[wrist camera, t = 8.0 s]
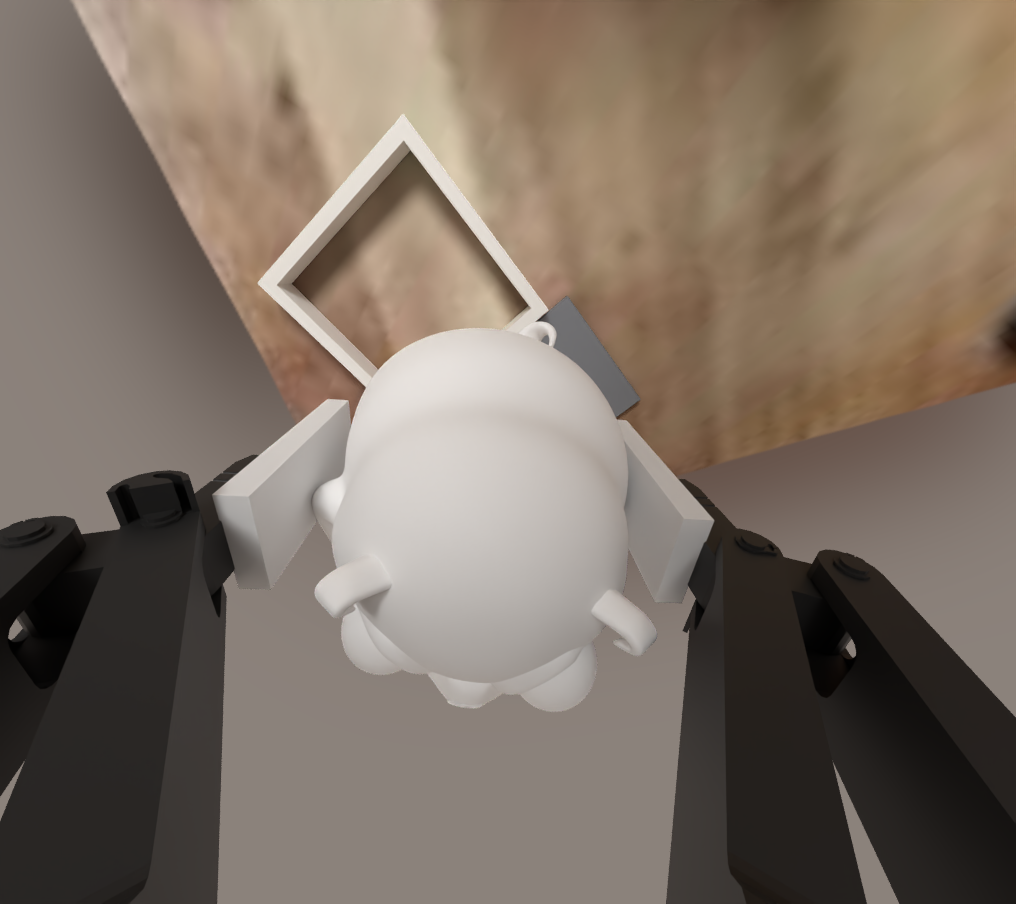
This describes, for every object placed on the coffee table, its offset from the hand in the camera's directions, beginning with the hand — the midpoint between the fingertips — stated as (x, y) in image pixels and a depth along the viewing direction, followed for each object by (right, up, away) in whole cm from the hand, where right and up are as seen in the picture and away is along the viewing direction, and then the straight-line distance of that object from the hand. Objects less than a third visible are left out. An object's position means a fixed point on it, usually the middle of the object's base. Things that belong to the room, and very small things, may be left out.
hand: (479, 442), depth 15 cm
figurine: (0, +1, +3) cm, 3 cm away
